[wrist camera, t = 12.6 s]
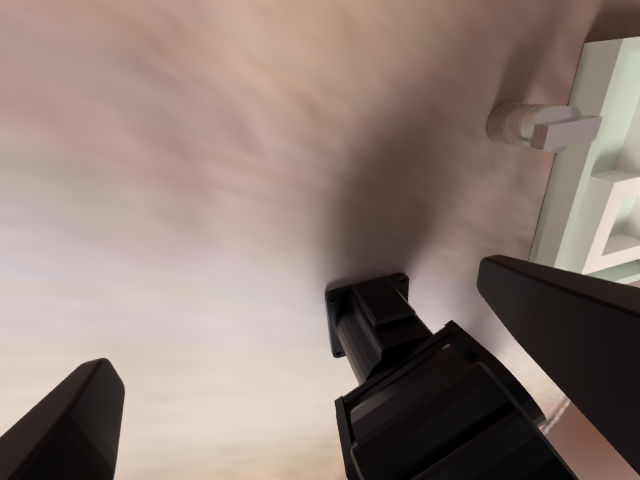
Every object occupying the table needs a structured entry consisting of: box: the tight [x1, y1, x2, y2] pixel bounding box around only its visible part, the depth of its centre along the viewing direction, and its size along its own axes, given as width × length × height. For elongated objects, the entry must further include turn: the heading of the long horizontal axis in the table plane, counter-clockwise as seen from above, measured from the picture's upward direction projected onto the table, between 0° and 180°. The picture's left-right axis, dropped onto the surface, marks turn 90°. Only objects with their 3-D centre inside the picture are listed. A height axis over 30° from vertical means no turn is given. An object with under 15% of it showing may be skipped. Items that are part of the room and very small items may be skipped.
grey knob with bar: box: [487, 102, 603, 153], centre depth 18 cm, size 2×3×5 cm
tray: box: [528, 37, 640, 284], centre depth 24 cm, size 20×14×2 cm
